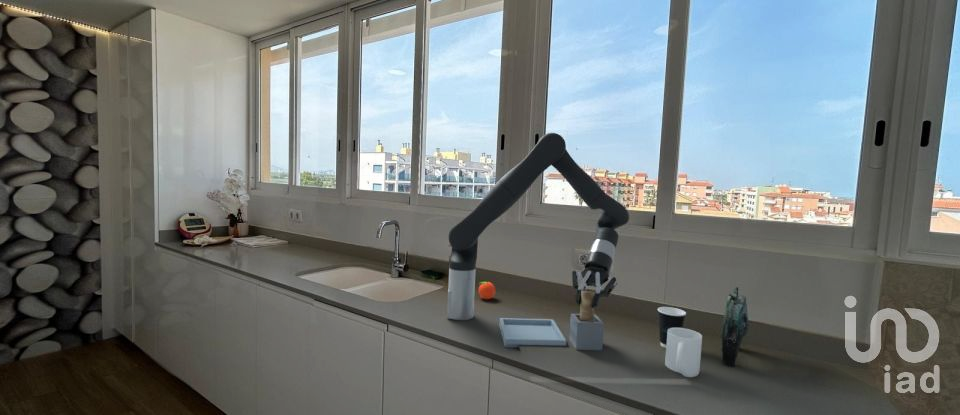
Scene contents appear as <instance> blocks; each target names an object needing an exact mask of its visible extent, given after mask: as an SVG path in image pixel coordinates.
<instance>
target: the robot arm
mask: <svg viewBox="0 0 960 415" xmlns="http://www.w3.org/2000/svg"><path fill="white" fill-rule="evenodd" d="M549 167H553V168H555V169H556V171H557V172H558V173H560V175H561V176H562V177H563V178H564V179H565V181H567V183H568V184H569V185H570V186H571V188H572V189H573V190H574V191H575V193H576V194H577V195H578V196H579V197H580V199H581V200H582V201H583V202H584V204H586V205H587V207H589V208H590V209H591V210H602V212H600V213H599V214H598V216H597V218H596V224H595V225H596V228H595V230H596V231H595V232H596V234H595V237H594V240H593V242H592V245H591V247H590V249H589V252H588V254H587V258H586V261H585V264H584V267H583V268H582V270H581V271H576V270H572V272H571V275H572V277H571V278H572V288H573V290H574V292H576V293H575V298H574V300H575V303H576V304H577V305H579V306H580V305H581V291H582V290H588V288H589V287H592V286H593V287H595V295H594V297H593V301H592V307H593V308H594V309H596V307H598V306H599V304H600V300H601V298H602V297H605V298H607V297H609V296H610V294H611V293H612V292H613V291H614V289H615V288H616V287H617V285H618V280H617V278H616V277H614V276H613V277H612V276H610V271H611V269H612V265H613V262H614V259H615V256H616V255H615V253H616V249H617V244H618V241H619V233H618V232H617V231H616V229H618V228H621V227H623V226H625V225H626V224H628V222H629V221H630V215H629V211H628V210H627V208H626V206H624V205H623V204H622V203H621V202H619V201H618V200H616V199H614V198H613V197H611V196H610V195H608V193H606V192H605V191H604V190H603V189H602V188H601V187H600V185H599V184H598V183H597V182H596V181H595V180H594V179H593V177H591V176H590V175H589V174H588V173H587V172H586V171H585V170H584V169H583V168H581V166H580V165H579V164H578V163H577V162H576V161H575V160H574V159H573V157H572V156H571V155H570V153H569V152H568V150H567V145H566V141H565V139H564V137H563V136H562V135H561V134H559V133H556V132H548V133H546V134H544V135H542V136H541V137H540V138H539V140H538V141H537V143H536V144H535V145H534V147H533V148H532V149H531V151H529V153H528V154H527V155H526V156H525V157H524V159H523V160H521V161H520V162H519V163H518V164H516V165H515V166H514V167H512V168H511V169H510V170H509V171H508V172H507V173H505V174H504V175H503V176H502V177H501V178H500V179H499V180H498V181H497V182H496V183H495V184H494V185H493V186H492V187H491V188H490V189H489V190H488V192H486V193H485V195H484V196H483V198H482V199H481V200H480V201H479V202H478V204H477V205H476V206H475V207H474V209H473V210H472V211H470V212H469V213H468V214H467V215H466V216H465V217H464V218H463V219H461V220H460V221H459V222H458V223H456V224H454V225H453V226H452V227H451V229H450V230H449V231H448V232H449V233H448V244H449V245H450V246H451V254H450V257H449V264H448V266H449V267H448V287H447V288H448V290H447V309H446V310H447V311H446V312H447V314H446V318H447V319H451V320H455V321H468V320H472V319H473V318H474V313H475V291H476V287H475V286H476V264H477V259H478V247H479V245H478V244H479V237H480V236H481V234H482V233H483V232H484V231H485V230H486V228H488V226H490V224H492V223H493V222H495V221H496V220H497V219H499V218H500V217H501V216H502V215H503V214H505V213H506V212H507V211H509V209H511V208H512V207H513V206H514V205H515V203H517V202H518V201H519V199H521V197H522V196H524V194H525V193H526V192H527V191H528V189H529V188H531V186H532V185H533V183H534V182H535V181H536V180H537V179H538V178H539V176H540V175H542V173H544V172H545V171H546V170H548V169H549ZM581 277H582V280H581V281H580V284H579V280H580V278H581ZM606 282H607V284H606V285H605V287H604V288H603V287H602V286H603V285H604V284H605V283H606ZM602 288H603V289H602Z"/></svg>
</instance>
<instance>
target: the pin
mask: <svg viewBox="0 0 960 415" xmlns="http://www.w3.org/2000/svg"><path fill="white" fill-rule="evenodd" d="M595 293H596V290H592V289H586V290H582V291H581V303H580V305H579V306H580V308H579V310H580V311H579V314H580V321H589V322H594V314H595V308H593V307H592V301H593V297H594V295H595Z"/></svg>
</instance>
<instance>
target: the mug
mask: <svg viewBox="0 0 960 415" xmlns="http://www.w3.org/2000/svg"><path fill="white" fill-rule="evenodd" d="M702 343H703V335H702V334H701V333H700V332H698V331H695V330H693V329H690V328H684V327H683V328H669V329H668V331H667V344H666V348H665V361H664V365H665V367H667V368H668V369H669V370H672V371H673V372H676V373H679V374H681V375H682V376H684V377H685V378H695V377H697V376H698V375H699V373H700V369H701V368H700V366H701V358H702V345H703V344H702Z"/></svg>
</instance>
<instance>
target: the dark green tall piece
mask: <svg viewBox="0 0 960 415" xmlns="http://www.w3.org/2000/svg"><path fill="white" fill-rule="evenodd" d="M722 318H723V319H722V326H721V327H722V328H721V353H722V355H721V357H722V359H721V363H722V365H723V366H724V365H725V366H726V367H727V366H729V367H732V368H735V366H736V362H737V358H738V355H739V351H741V350H740V349H741V344H742V343H743V342H742V341H743V339H744V338H745V337H746V335H747V333H748V331H749V317H748V305H747V296H746V295H744V294H739V287H737V286H735V287H734V289H733V293H731V292H730V293H729V294H728V295H727V299H726V305H725V312H724V315H723V317H722Z"/></svg>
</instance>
